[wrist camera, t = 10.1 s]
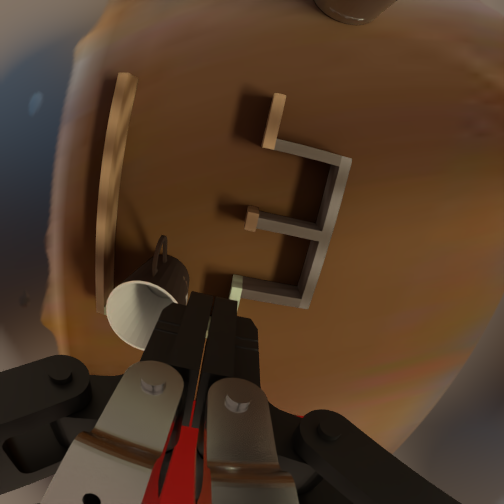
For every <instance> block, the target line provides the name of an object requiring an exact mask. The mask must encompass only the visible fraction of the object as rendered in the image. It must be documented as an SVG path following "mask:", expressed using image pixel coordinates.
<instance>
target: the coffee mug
mask: <svg viewBox="0 0 504 504" xmlns="http://www.w3.org/2000/svg"><path fill="white" fill-rule="evenodd" d="M162 244H163V255H159V252H160V249H161V246H162ZM188 287H189V274H188V271H187V269H186V267H185V266H184V265H183V264H182V263H181V262H180V261H179V260H178V259H176V258H174V257H172V256H169V255H167V237H166V236H164V235H161V237H160V239H159V241H158V243H157V246H156V249H155V253H154V257H152V258H151V259H150V260H148V261H147V262H146V263H145V264H143V265H142V266H141V267H140V268H138V269H137V270H136V271H135V272H134V273H132V274H131V275H130V276H129V277H128V278H126V279H125V280H124V281H123V282H122V283H120V284H119V285H118V286H117V287H116V288H115V289H113V291H112V292H111V293H110V295H109V297H108V300H107V304H106V314H107V318H108V321H109V323H110V325H111V327H112V329H113V330H114V332H115V333H116V334H117V335H118V336H119V337H120V338H121V339H122V340H123V341H125V342H126V343H127V344H129V345H131V346H133V347H135V348H137V349H140V350H145V348H146V346H147V343H148V341H149V339H150V337H151V334H152V332H153V330H154V327H155V325H156V323H157V321H158V318H159V316H160V314H161V312H162V310H163V309H164V308H165V307H167V306H168V305H170V304H171V303H173V302H174V303H178V304H182V305H187V296H188Z"/></svg>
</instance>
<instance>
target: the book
mask: <svg viewBox="0 0 504 504" xmlns="http://www.w3.org/2000/svg"><path fill="white" fill-rule="evenodd" d="M195 402H196V401H195V400H194V401H193V407H192V412H191V418H190V424H189V427H187V426H182V427H181V432H180V437H179V441H178V443H177V445H176V448H175V452H174V455H173V459H172V462H171V465H170V469H169V472H168V476H167V479H166V483H165V486H164V490H163V493H162V497H161V501H160V504H193V500H194V460H195V448H196V444H197V438H198V431H199V429H198V428H193V427H191V426H192V420H193V414H194V408H195ZM298 417H301V418H303V417H304V416H298Z"/></svg>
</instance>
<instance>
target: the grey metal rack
mask: <svg viewBox="0 0 504 504" xmlns="http://www.w3.org/2000/svg"><path fill="white" fill-rule="evenodd" d="M138 80H139V78H137V77H135V76H133V75H131V74H129V73H119V74H118V78H117V82H116V86H115V91H114V95H113V100H112V105H111V110H110V115H109V121H108V126H107V132H106V138H105V145H104V152H103V159H102V167H101V176H100V185H99V196H98V209H97V225H96V256H95V281H96V311H97V313H101V314H105V315H107V314H106V304H107V300H108V297H109V295H110V293H111V292H112V291H113V289H114V251H115V233H116V219H117V208H118V197H119V188H120V180H121V172H122V164H123V157H124V151H125V144H126V138H127V133H128V127H129V122H130V116H131V111H132V106H133V102H134V97H135V93H136V88H137V84H138ZM285 100H286V95H283V94H279V93H275V94H274V95H273V97H272V101H271V105H270V110H269V114H268V118H267V123H266V127H265V132H264V136H263V140H262V145H261V147H264V148H268V149H273V150H277V151H281V152H286V153H290V154H294V155H298V156H302V157H306V158H310V159H314V160H317V161H321V162H325V163H328V164H331V166H330V170H329V174H328V178H327V182H326V186H325V190H324V194H323V197H322V201H321V205H320V209H319V213H318V216H317V220H316V223H312V222H308V221H303V220H299V219H294V218H290V217H285V216H281V215H276V214H271V213H267V212H262V211H259V209H258V207H254V206H249V205H248V208H247V213H246V217H245V225H244V230H249V231H254V232H255V231H256V228H257V229H262V230H267V231H272V232H276V233H281V234H286V235H291V236H296V237H300V238H305V239H310V240H311V241H310V245H309V248H308V252H307V255H306V259H305V262H304V266H303V269H302V272H301V276H300V279H299V282H298V286H293V285H288V284H282V283H277V282H271V281H266V280H261V279H255V278H250V277H245V276H239V275H234V274H233V278H232V283H231V288H230V293H229V298H228V299H231V300H236V301H238V305H237V310H238V306H239V301H240V298H245V299H251V300H256V301H262V302H268V303H273V304H279V305H285V306H291V307H297V308H304V309H308V308H309V305H310V302H311V299H312V296H313V293H314V290H315V287H316V284H317V281H318V278H319V275H320V272H321V269H322V265H323V262H324V259H325V256H326V253H327V249H328V246H329V243H330V239H331V236H332V232H333V229H334V226H335V222H336V219H337V215H338V212H339V208H340V204H341V201H342V197H343V193H344V190H345V186H346V182H347V178H348V174H349V170H350V166H351V162H352V159H351V158H347V157H344V156H341V155H337V154H334V153H330V152H327V151H323V150H319V149H316V148H312V147H308V146H304V145H300V144H296V143H292V142H288V141H284V140H280V139H277V135H278V130H279V126H280V121H281V117H282V113H283V108H284V104H285ZM210 321H211V316H210V317H209V322H208V327H207V332H206V337H205V338H207V336H208V331H209V326H210Z"/></svg>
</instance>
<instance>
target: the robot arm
mask: <svg viewBox="0 0 504 504" xmlns="http://www.w3.org/2000/svg"><path fill="white" fill-rule="evenodd" d="M314 1H315V3H316V5H317V6H318V7H319V8H320V9H321V10H322V11H323V12H324V13H325V14H327V15H328V16H330V17H331V18H333V19H335V20H337V21H340V22H342V23H346V24H352V25H361V24H366V23H369V22H371V21H372V20H374V19H375V18H376V17H377V16H379V15H380V14H381V13H382V12H383V11H385V10H386V9H387V8H388V7H390V6H391V5H392V4H393V3H394V2H396V1H397V0H314ZM213 297H214V296H212V295H207V294H203V293H198V292H194V291H192V292H191V295H190V298H189V301H188V304H187V305H182V304H178V303H174V302H173V303H171V304H170V305H168V306H167V307H165V308H164V309H163V310H162V312H161V314H160V316H159V318H158V321H157V323H156V325H155V327H154V330H153V332H152V334H151V337H150V339H149V341H148V343H147V346H146V348H145V350H144V353H143V355H142V357H141V360H140V362H138V363H135V364H133V365H132V366H130V367H129V368H128V369H127V370H126V372H125V373H124V374H122V375H118V376H98V375H89V372H88V369H87V368H86V366H85V365H84V364H83V363H82V362H81V361H79V360H78V359H76V358H74V357H71V356H67V355H54V356H50V357H47V358H44V359H41V360H38V361H34V362H32V363H28V364H25V365H22V366H19V367H15V368H12V369H9V370H6V371H3V372H0V495H1V494H4V493H7V492H9V491H12V490H15V489H18V488H20V487H23V486H26V485H29V484H31V483H34V482H36V481H39V480H41V479H44V478H46V477H49V476H51V475H53V474H55V475H54V477H53V479H52V481H51V483H50V485H49V487H48V489H47V491H46V493H45V495H44V497H43V499H42V501H41V503H39V504H160V501H161V497H162V493H163V490H164V486H165V483H166V479H167V476H168V472H169V469H170V465H171V462H172V459H173V455H174V452H175V448H176V445H177V443H178V441H179V437H180V432H181V427H182V426H187V427H189V424H190V418H191V412H192V407H193V401H194V396H195V390H196V385H197V380H198V374H199V369H200V364H201V358H202V353H203V348H204V343H205V337H206V332H207V327H208V322H209V317H210V312H211V307H212V302H213ZM237 305H238V301H236V300H231V299H226V298H222V297H217V296H216V297H215V302H214V306H213V311H212V316H211V321H210V326H209V331H208V336H207V341H206V346H205V351H204V357H203V362H202V368H201V373H200V379H199V385H198V391H197V396H196V402H195V408H194V414H193V420H192V426H191V427H193V428H198V429H199V431H198V438H197V444H196V448H195V460H194V500H193V504H461V503H460V502H458V501H457V500H455V499H453V498H452V497H451V496H449V495H448V494H446V493H444V492H443V491H442V490H440V489H439V488H437V487H436V486H434V485H433V484H432V483H430V482H429V481H427V480H426V479H425V478H423V477H422V476H420V475H419V474H418V473H416V472H415V471H413V470H412V469H411V468H409V467H408V466H407V465H405V464H404V463H402V462H401V461H400V460H398V459H397V458H396V457H394V456H393V455H392V454H391V453H389V452H388V451H387V450H385V449H384V448H383V447H381V446H380V445H379V444H377V443H376V442H375V441H374V440H372V439H371V438H370V437H369V436H367V435H366V434H365V433H364V432H362V431H361V430H360V429H359V428H357V427H356V426H355V425H354V424H352V423H351V422H350V421H349V420H347V419H346V418H345V417H343V416H342V415H340V414H338V413H336V412H334V411H330V410H314V411H311V412H309V413H307V414H306V415H305V416H304V417H303V418H301V417H298V416H295V415H292V414H289V413H287V412H284V411H282V410H279V409H278V408H276V407H274V406H273V405H272V404H270V403H269V402H268V400H267V397H266V395H265V393H264V392H263V391H262V390H261V387H260V369H259V352H258V349H259V348H258V329H257V328H256V326H255V325H254V323H253V321H252V320H251V319H249V318H244V317H239V316H237Z"/></svg>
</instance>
